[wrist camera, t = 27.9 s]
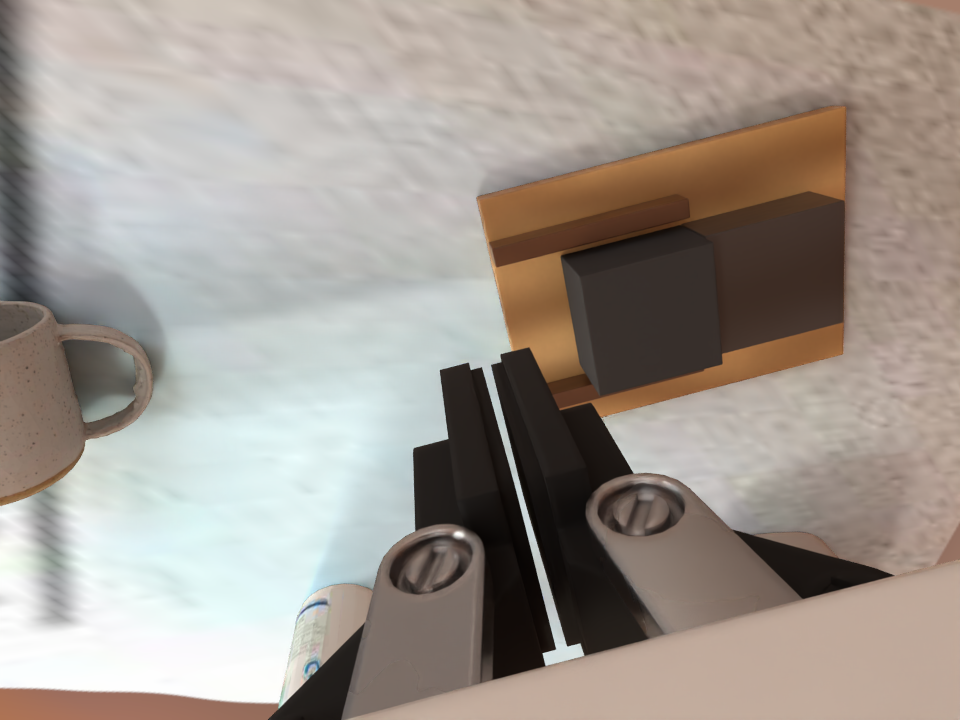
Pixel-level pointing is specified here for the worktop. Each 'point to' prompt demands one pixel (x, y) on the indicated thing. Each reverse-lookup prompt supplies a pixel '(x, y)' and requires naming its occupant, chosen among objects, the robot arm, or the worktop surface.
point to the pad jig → (707, 212)
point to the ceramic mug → (50, 398)
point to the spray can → (323, 631)
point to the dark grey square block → (644, 308)
